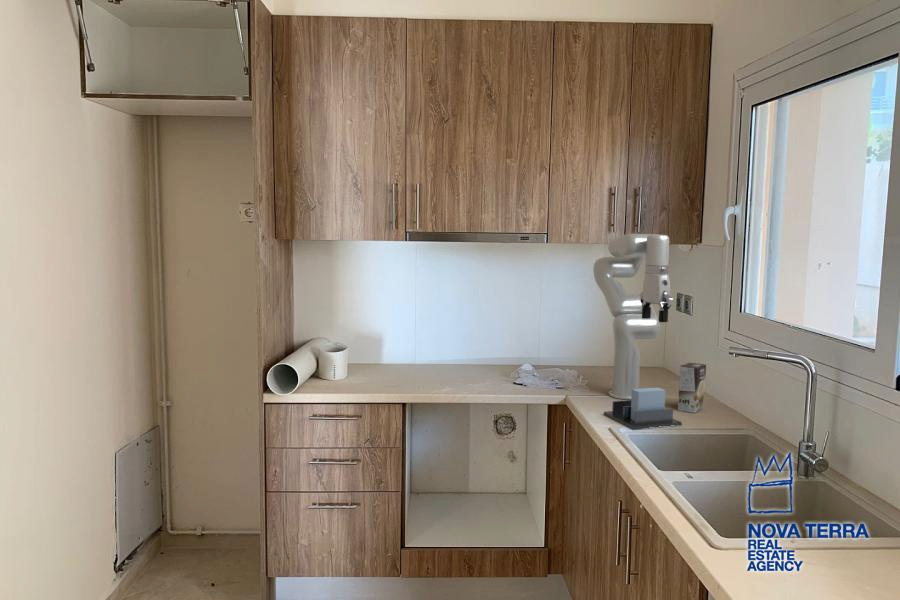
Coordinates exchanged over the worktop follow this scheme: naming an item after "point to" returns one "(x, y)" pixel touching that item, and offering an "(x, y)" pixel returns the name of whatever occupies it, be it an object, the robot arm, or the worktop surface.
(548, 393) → the worktop surface
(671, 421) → the dish rack
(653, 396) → the blue-grey square block
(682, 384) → the coffee box
